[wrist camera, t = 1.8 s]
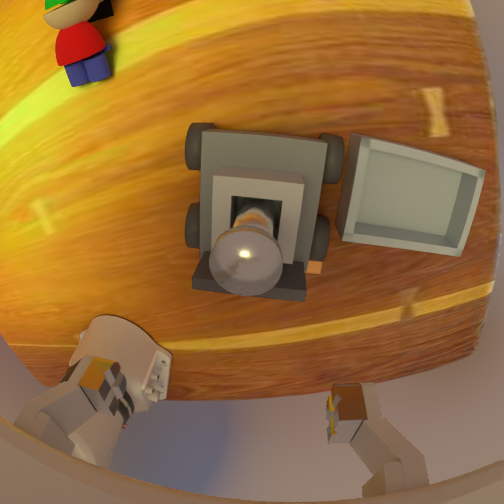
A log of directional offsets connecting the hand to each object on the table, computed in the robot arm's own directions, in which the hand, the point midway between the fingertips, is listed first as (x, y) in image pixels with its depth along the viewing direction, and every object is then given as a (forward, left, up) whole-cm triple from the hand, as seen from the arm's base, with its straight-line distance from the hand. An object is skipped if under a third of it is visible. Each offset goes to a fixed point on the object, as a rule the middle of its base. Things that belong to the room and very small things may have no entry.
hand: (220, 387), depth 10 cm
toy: (+20, +22, -27) cm, 40 cm away
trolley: (0, 0, -26) cm, 26 cm away
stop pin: (0, 0, -20) cm, 20 cm away
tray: (+2, -17, -26) cm, 31 cm away
